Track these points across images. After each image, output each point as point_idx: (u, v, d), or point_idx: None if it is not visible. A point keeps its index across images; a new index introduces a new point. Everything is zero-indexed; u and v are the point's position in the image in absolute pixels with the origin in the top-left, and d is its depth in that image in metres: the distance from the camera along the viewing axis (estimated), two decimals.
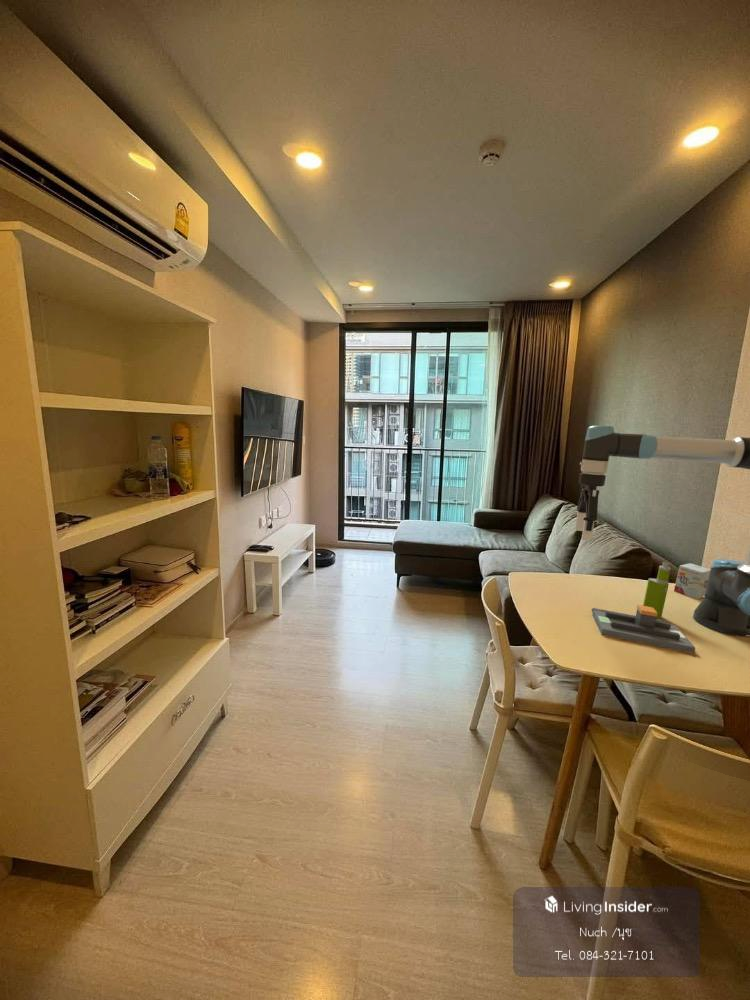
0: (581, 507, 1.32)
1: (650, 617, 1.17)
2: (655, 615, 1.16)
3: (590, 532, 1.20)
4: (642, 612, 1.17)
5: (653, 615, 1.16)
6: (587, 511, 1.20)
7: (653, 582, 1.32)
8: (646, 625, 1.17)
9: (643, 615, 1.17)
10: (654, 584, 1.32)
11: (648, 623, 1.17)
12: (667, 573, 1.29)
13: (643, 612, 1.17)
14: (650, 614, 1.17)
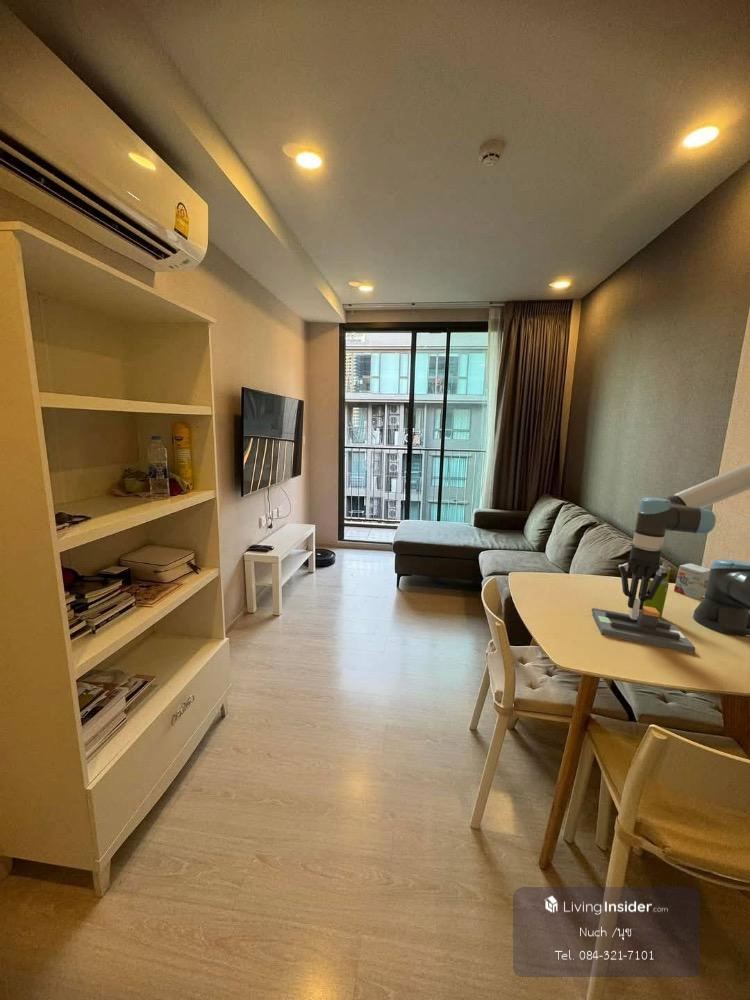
0: (640, 589, 1.19)
1: (653, 617, 1.17)
2: (657, 615, 1.16)
3: (632, 610, 1.19)
4: (644, 612, 1.17)
5: (655, 615, 1.16)
6: (630, 587, 1.20)
7: None
8: (649, 625, 1.17)
9: (645, 616, 1.17)
10: None
11: (650, 624, 1.17)
12: (667, 573, 1.29)
13: (645, 612, 1.17)
14: (652, 615, 1.16)
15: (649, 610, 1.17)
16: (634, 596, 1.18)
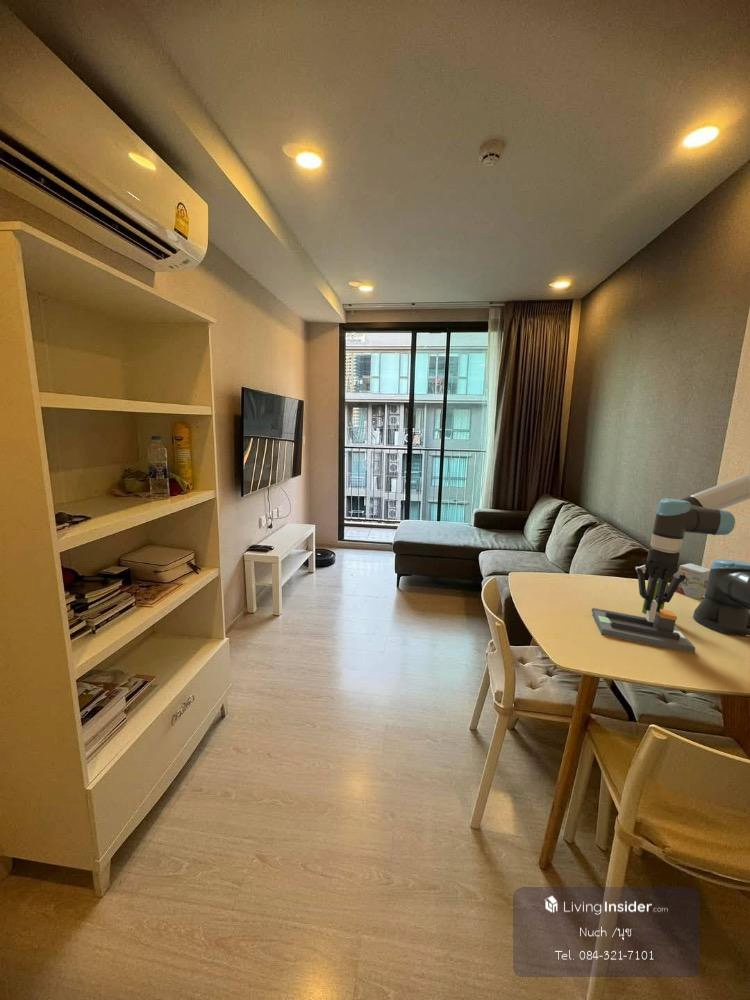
0: (657, 591, 1.17)
1: (670, 620, 1.15)
2: (674, 619, 1.15)
3: (649, 612, 1.18)
4: (661, 616, 1.16)
5: (672, 619, 1.15)
6: (647, 589, 1.19)
7: None
8: (665, 628, 1.16)
9: (662, 619, 1.16)
10: None
11: (667, 627, 1.16)
12: None
13: (662, 616, 1.16)
14: (669, 618, 1.15)
15: (666, 613, 1.16)
16: (651, 598, 1.17)
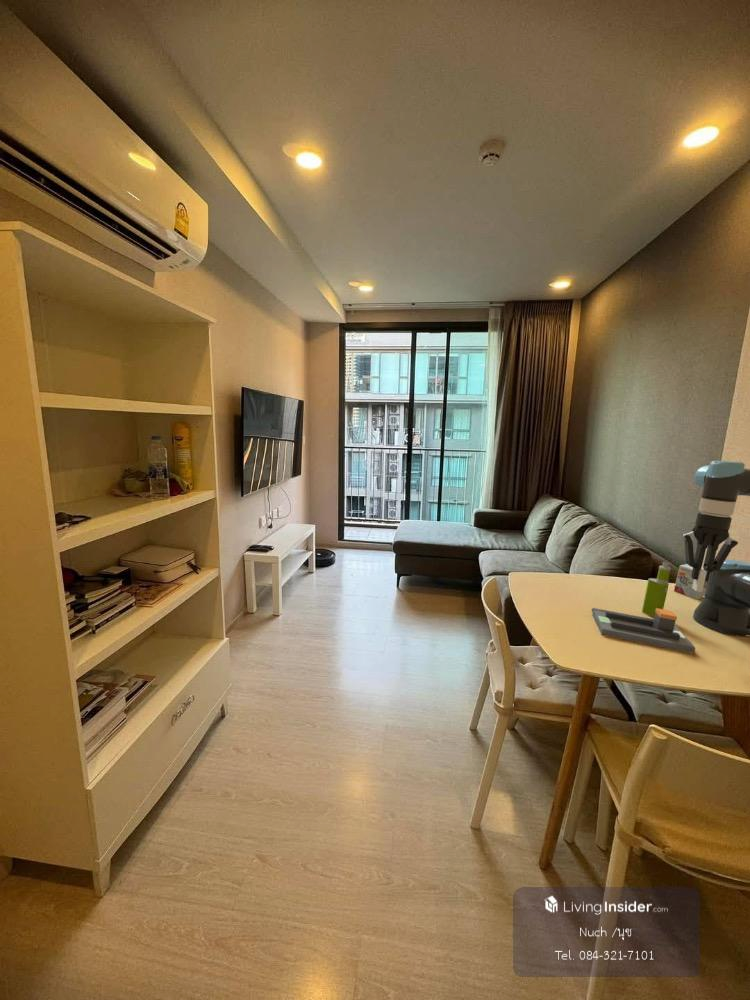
0: (705, 559, 1.12)
1: (670, 620, 1.15)
2: (674, 619, 1.15)
3: (697, 581, 1.12)
4: (661, 615, 1.16)
5: (672, 619, 1.15)
6: None
7: (653, 582, 1.32)
8: (665, 628, 1.16)
9: (662, 619, 1.16)
10: (654, 584, 1.32)
11: (667, 627, 1.16)
12: (667, 573, 1.29)
13: (662, 615, 1.16)
14: (669, 618, 1.15)
15: (666, 613, 1.16)
16: (700, 566, 1.11)
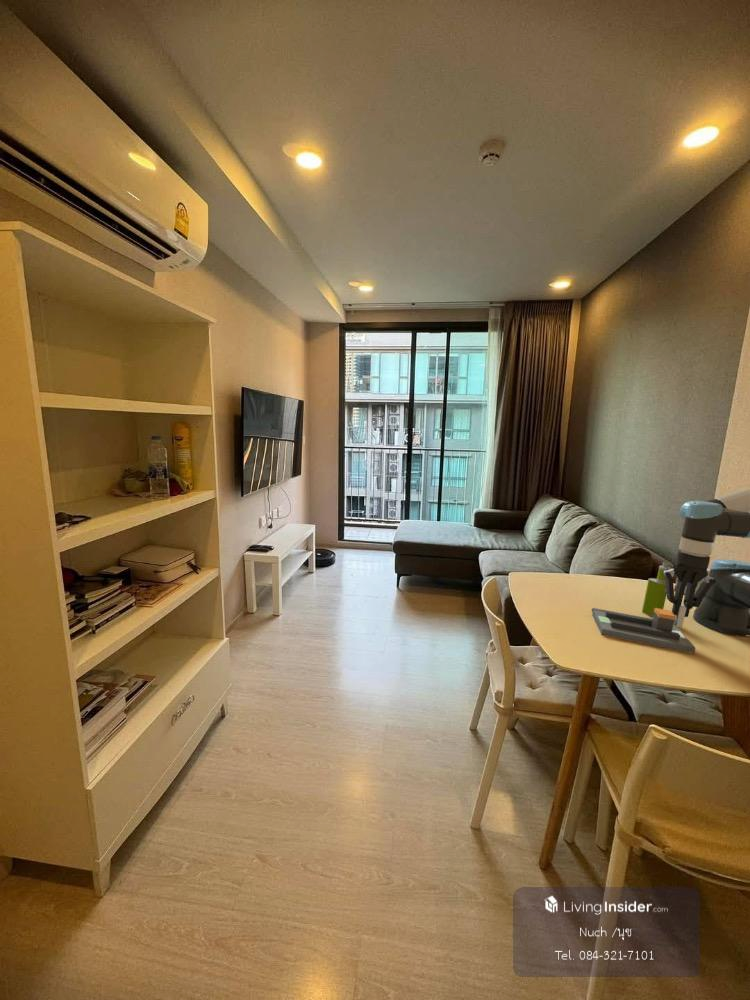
0: (685, 596, 1.15)
1: (668, 620, 1.15)
2: (673, 618, 1.15)
3: (677, 617, 1.15)
4: (660, 615, 1.16)
5: (671, 618, 1.15)
6: (675, 593, 1.16)
7: (653, 582, 1.32)
8: (664, 628, 1.16)
9: (660, 619, 1.16)
10: (654, 584, 1.32)
11: (665, 627, 1.16)
12: None
13: (661, 615, 1.16)
14: (668, 617, 1.15)
15: (664, 613, 1.16)
16: (680, 603, 1.14)
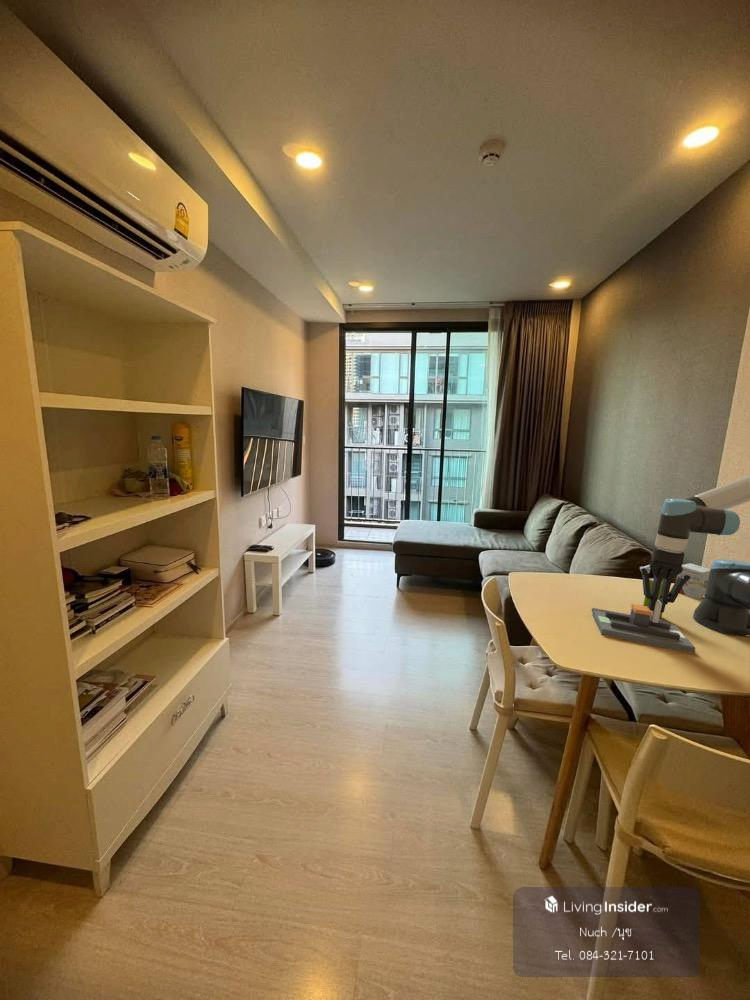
0: (661, 592, 1.17)
1: (645, 616, 1.17)
2: (649, 614, 1.17)
3: (653, 613, 1.17)
4: (636, 611, 1.18)
5: (647, 614, 1.17)
6: (651, 589, 1.18)
7: None
8: (640, 624, 1.18)
9: (637, 614, 1.18)
10: None
11: (642, 622, 1.18)
12: None
13: (637, 611, 1.18)
14: (644, 613, 1.17)
15: (641, 609, 1.18)
16: (656, 599, 1.16)
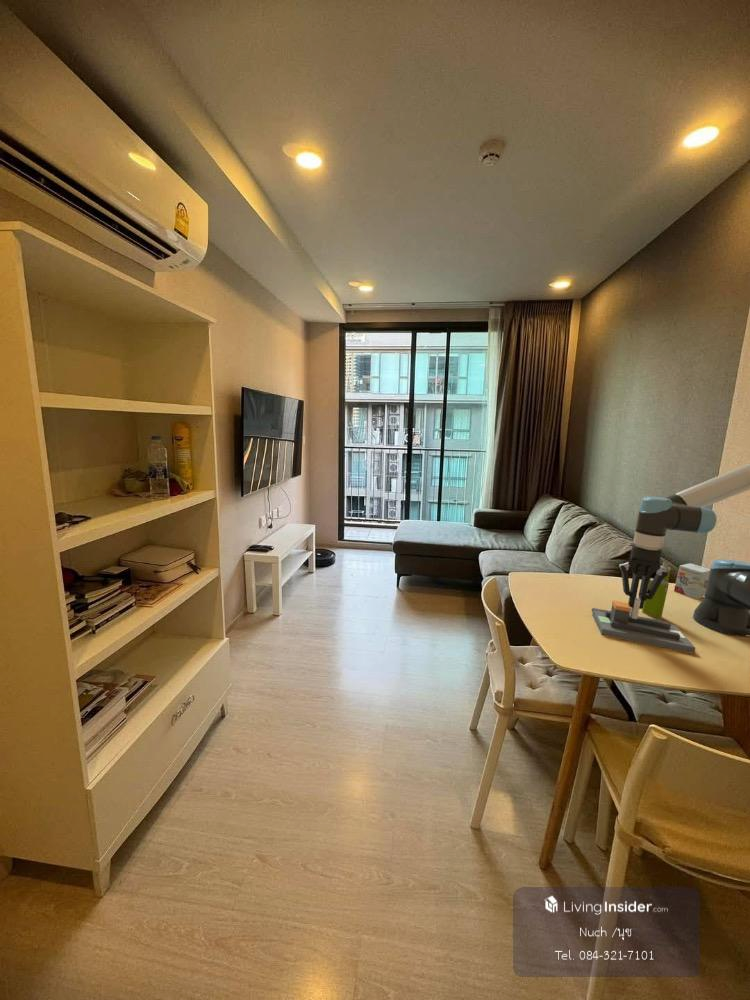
0: (640, 588, 1.19)
1: (624, 612, 1.19)
2: (629, 610, 1.18)
3: (633, 609, 1.19)
4: (616, 607, 1.20)
5: (627, 610, 1.19)
6: (631, 586, 1.20)
7: None
8: (620, 620, 1.20)
9: (617, 610, 1.20)
10: None
11: (622, 618, 1.20)
12: None
13: (617, 607, 1.19)
14: (624, 609, 1.19)
15: (621, 605, 1.20)
16: (635, 595, 1.18)
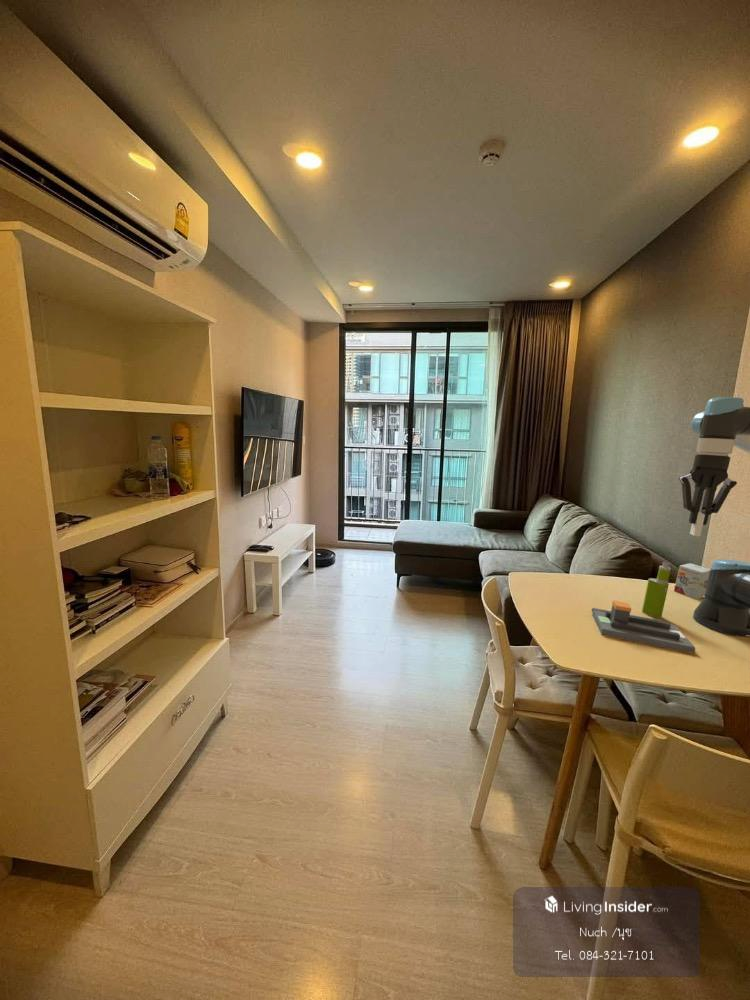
0: (703, 503, 1.08)
1: (624, 612, 1.19)
2: (629, 610, 1.18)
3: (694, 526, 1.09)
4: (616, 607, 1.19)
5: (627, 610, 1.19)
6: (692, 501, 1.09)
7: (653, 582, 1.32)
8: (621, 620, 1.20)
9: (617, 611, 1.20)
10: (654, 584, 1.32)
11: (622, 618, 1.20)
12: (667, 573, 1.29)
13: (617, 607, 1.19)
14: (624, 609, 1.19)
15: (621, 605, 1.20)
16: (698, 510, 1.07)
